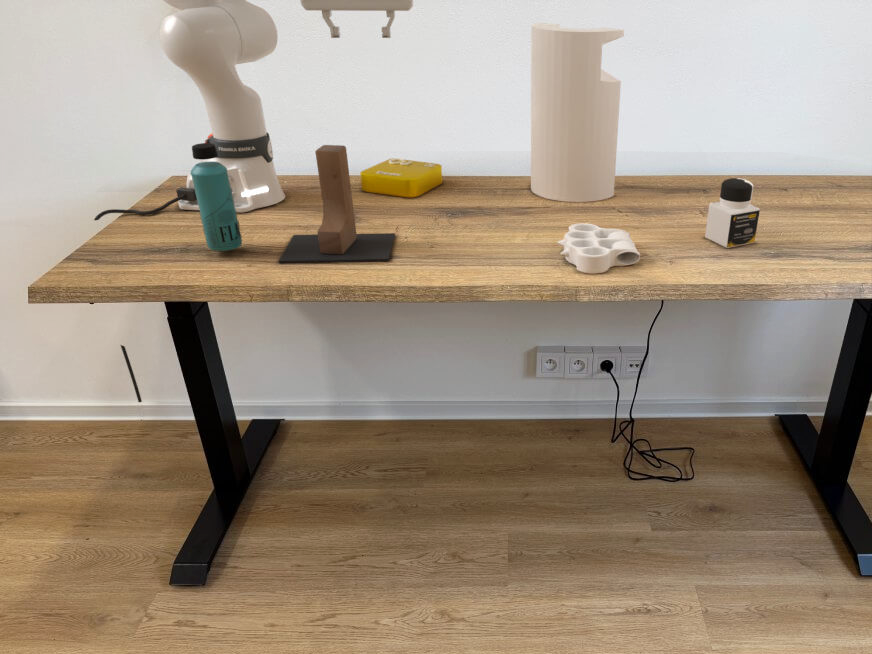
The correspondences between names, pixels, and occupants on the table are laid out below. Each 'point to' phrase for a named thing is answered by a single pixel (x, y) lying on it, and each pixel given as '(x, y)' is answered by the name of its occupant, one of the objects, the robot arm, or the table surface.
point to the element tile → (401, 178)
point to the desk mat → (359, 251)
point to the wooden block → (335, 200)
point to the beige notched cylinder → (572, 114)
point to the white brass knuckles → (598, 248)
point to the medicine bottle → (733, 215)
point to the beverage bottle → (215, 200)
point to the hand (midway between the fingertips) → (361, 37)
